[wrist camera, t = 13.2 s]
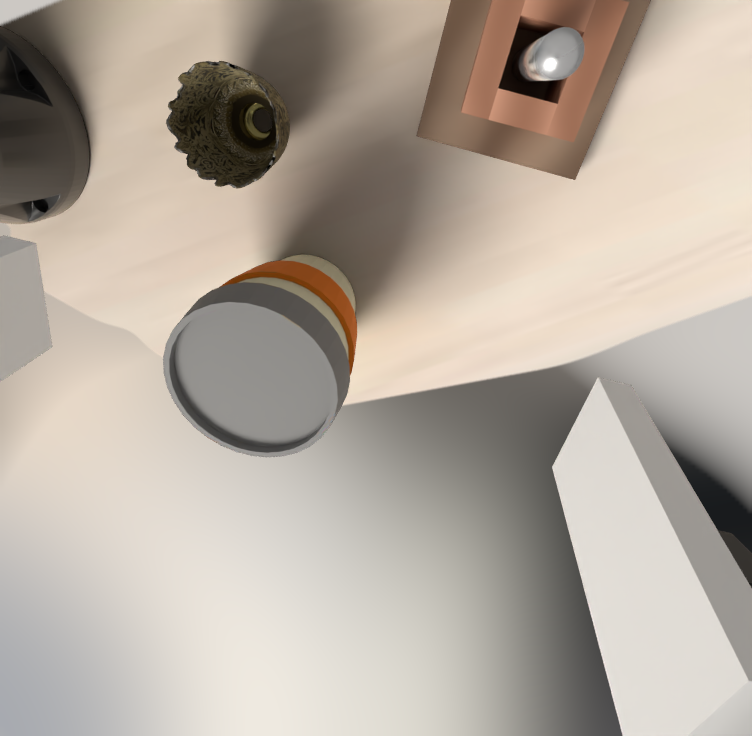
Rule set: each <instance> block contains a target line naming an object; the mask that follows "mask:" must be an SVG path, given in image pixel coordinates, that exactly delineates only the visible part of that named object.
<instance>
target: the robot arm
mask: <svg viewBox="0 0 752 736" xmlns="http://www.w3.org/2000/svg"><path fill="white" fill-rule="evenodd" d="M88 169H89V145H88V138H87V134H86V129H85V126H84V122H83V119H82V116H81V113H80V111H79V108H78V106H77V104H76V102H75V100H74V98H73V96H72V94H71V92H70V90H69V89H68V87H67V85H66V84H65V82H64V81H63V79H62V78H61V76H60V75H59V74H58V72H57V71H56V70H55V69H54V67H53V66H52V65H51V64H50V63H49V61H48V60H47V59H46V58H45V57H44V56H43V55H42V54H41V53H40V52H39V51H38V50H37V49H35V48H34V47H33V46H32V45H31V44H29V43H28V42H27V41H25V40H24V39H23V38H21V37H20V36H18V35H17V34H15V33H13V32H12V31H10V30H8V29H6V28H4V27H1V26H0V223H10V224H25V223H32V222H37V221H40V220H43V219H46V218H50V217H53V216H56V215H58V214H60V213H62V212H64V211H65V210H67V209H68V208H69V207H70V206H72V205H73V203H74V202H75V201H76V200H77V199H78V197H79V196H80V194H81V192H82V190H83V188H84V185H85V183H86V179H87V175H88ZM51 347H52V341H51V335H50V328H49V322H48V316H47V310H46V303H45V297H44V290H43V284H42V277H41V271H40V265H39V258H38V252H37V246H36V243H33V242H29V241H25V240H21V239H16V238H12V237H8V236H1V237H0V382H1V381H2V380H4V379H5V378H7V377H8V376H10V375H11V374H13V373H14V372H16V371H17V370H19V369H20V368H21V367H23V366H25V365H26V364H28V363H29V362H31V361H32V360H34V359H35V358H37V357H38V356H40V355H41V354H43V353H44V352H46V351H47V350H49V349H50V348H51ZM552 468H553V472H554V476H555V480H556V483H557V487H558V491H559V495H560V498H561V502H562V506H563V509H564V514H565V518H566V521H567V525H568V529H569V533H570V536H571V540H572V544H573V548H574V551H575V556H576V559H577V563H578V567H579V570H580V575H581V578H582V582H583V586H584V590H585V594H586V597H587V601H588V605H589V609H590V613H591V616H592V620H593V624H594V628H595V632H596V635H597V639H598V643H599V647H600V650H601V654H602V658H603V662H604V666H605V670H606V673H607V677H608V681H609V685H610V689H611V692H612V696H613V700H614V703H615V708H616V712H617V715H618V719H619V723H620V727H621V731H622V734H623V736H752V553H751V552H750V551H749V550H748V549H747V548H746V547H745V546H744V545H743V544H742V543H741V542H740V541H739V540H738V539H737V538H736V537H735V536H734V535H733V534H731V533H728V532H723V531H719V530H717V529H716V527H715V525H714V524H713V522H712V520H711V519H710V517H709V515H708V514H707V512H706V510H705V509H704V507H703V505H702V504H701V502H700V500H699V498H698V497H697V495H696V493H695V492H694V490H693V488H692V487H691V485H690V483H689V482H688V480H687V478H686V477H685V475H684V473H683V471H682V470H681V468H680V467H679V465H678V463H677V461H676V460H675V458H674V456H673V455H672V453H671V451H670V450H669V448H668V446H667V444H666V443H665V441H664V439H663V438H662V436H661V434H660V433H659V431H658V429H657V428H656V426H655V424H654V423H653V421H652V419H651V418H650V416H649V414H648V413H647V411H646V409H645V407H644V406H643V404H642V402H641V401H640V399H639V397H638V396H637V394H636V392H635V391H634V389H633V387H632V385H629V384H625V383H620V382H616V381H612V380H608V379H604V378H599V377H598V378H597V380H596V382H595V384H594V387H593V388H592V390H591V392H590V394H589V396H588V398H587V400H586V402H585V404H584V406H583V408H582V410H581V412H580V414H579V416H578V418H577V420H576V422H575V424H574V425H573V428H572V429H571V431H570V433H569V435H568V437H567V440H566V441H565V443H564V445H563V447H562V449H561V451H560V453H559V455H558V457H557V459H556V461H555V463H554V465H553V467H552Z"/></svg>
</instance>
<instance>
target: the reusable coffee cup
mask: <svg viewBox="0 0 752 736" xmlns="http://www.w3.org/2000/svg"><path fill="white" fill-rule="evenodd" d="M355 310H356V301H355V296H354V291H353V289H352V287H351V284H350V282H349V281H348V279H347V278H346V276H345V275H344V274H343V273H342V272H341V271H340V270H339V269H338V268H337V267H336V266H335V265H333V264H332V263H330V262H329V261H327V260H324V259H322V258H320V257H316V256H312V255H301V254H300V255H294V256H289V257H287V258H284V259H282V260H280V261H273V262H267V263H265V264H262V265H259V266H257V267H255V268H253V269H251V270H249V271H246V272H244V273H242V274H240V275H238V276H236V277H234V278H232V279H231V280H229V281H228V282H226V283H225V284H223V285H222V286H220V287H219V288H217V289H214V290H212V291H210V292H209V293H207V294H206V295H204V296H203V297H201V298H200V299H199V300H198V301H197V302H196V303H195V304H194V305H193V306H192V308H191V309H190V310H189V311H188V312H187V313H186V315H185V316H184V317H183V318H182V320H181V321H180V322H179V323H178V324H177V326H176V327H175V328H174V329H173V331H172V333H171V335H170V337H169V339H168V341H167V343H166V347H165V352H164V356H163V365H164V376H165V380H166V383H167V388H168V390H169V392H170V394H171V396H172V399H173V401H174V402H175V404H176V405H177V407H178V408H179V410H180V411H181V412H182V414H183V416H184V417H185V418H186V419H187V420H188V421H189V422H190V423H191V424H192V425H193V426H194V427H195V428H196V429H197V430H199V431H200V432H201V433H202V434H204V435H205V436H206V437H208V438H209V439H211V440H213V441H214V442H216V443H218V444H220V445H221V446H223V447H226V448H229V449H231V450H234V451H236V452H239V453H243V454H247V455H251V456H259V457H278V456H279V457H280V456H286V455H290V454H294V453H297V452H299V451H302V450H304V449H306V448H308V447H310V446H311V445H313V444H314V443H315V442H316V441H317V440H319V439H320V438H321V437H322V436H323V435H324V433H325V432H326V431H327V430H328V428H329V427H330V425H331V423H332V422H333V420H334V418H335V417H336V415H337V413H338V412H339V410H340V408H341V406H342V404H343V402H344V400H345V398H346V396H347V392H348V387H349V382H350V375H351V372H352V367H353V362H354V355H355V347H356V339H357V321H356V317H355Z"/></svg>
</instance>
